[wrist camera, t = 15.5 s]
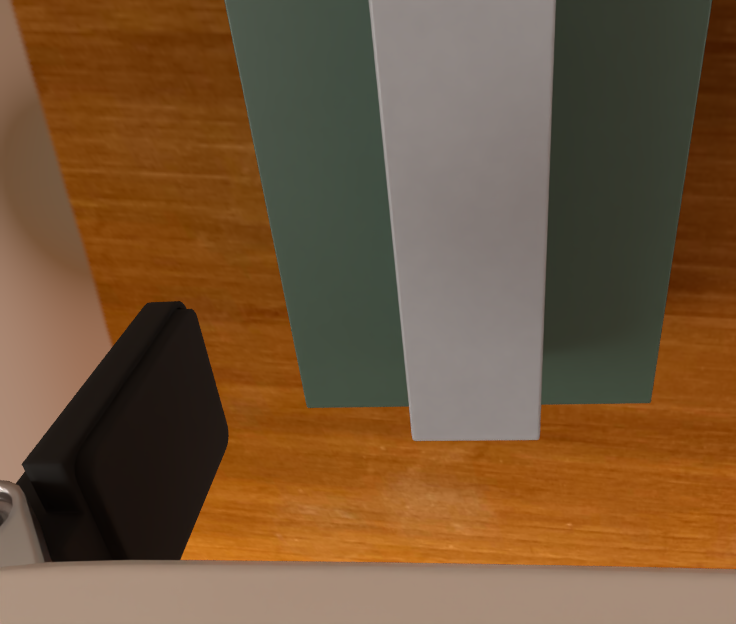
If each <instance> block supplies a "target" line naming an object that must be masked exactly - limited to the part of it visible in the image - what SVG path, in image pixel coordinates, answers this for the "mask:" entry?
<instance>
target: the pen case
mask: <svg viewBox="0 0 736 624" xmlns="http://www.w3.org/2000/svg"><path fill="white" fill-rule="evenodd" d="M369 9H370V19H371V29H372V39H373V50H374V60H375V70H376V80H377V90H378V100H379V110H380V120H381V130H382V140H383V150H384V160H385V170H386V180H387V190H388V200H389V210H390V220H391V230H392V240H393V250H394V261H395V271H396V281H397V291H398V301H399V311H400V321H401V331H402V341H403V351H404V361H405V371H406V381H407V391H408V401H409V411H410V421H411V431H412V438H413V440H414V441H453V440H538V439H539V437H540V416H541V389H542V362H543V335H544V308H545V281H546V254H547V227H548V200H549V173H550V146H551V119H552V92H553V65H554V38H555V11H556V0H369Z"/></svg>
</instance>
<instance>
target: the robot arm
mask: <svg viewBox="0 0 736 624" xmlns="http://www.w3.org/2000/svg"><path fill="white" fill-rule="evenodd" d="M227 444H228V426H227V422H226V419H225V415H224V412H223V408H222V404H221V401H220V397H219V394H218V390H217V387H216V383H215V379H214V376H213V372H212V369H211V365H210V362H209V358H208V354H207V351H206V347H205V344H204V340H203V336H202V333H201V329H200V326H199V322H198V319H197V316H196V313H195V312H194V310H192V309H186V307H185V305H184V304H183V303H182V302H180V301H174V302H151V303H147V304H146V305H145V306H144V307H143V308H142V309H141V311H140V312H139V313H138V315H137V316H136V317H135V319H134V320H133V321H132V322H131V324H130V325H129V326H128V328H127V329H126V330H125V331H124V333H123V334H122V335H121V337H120V338H119V339H118V340H117V342H116V343H115V344H114V346H113V347H112V348H111V350H110V351H109V352H108V354H107V355H106V356H105V358H104V359H103V360H102V361H101V362H100V364H99V365H98V366H97V368H96V369H95V370H94V371H93V373H92V374H91V375H90V377H89V378H88V379H87V381H86V382H85V383H84V385H83V386H82V387H81V388H80V390H79V391H78V392H77V393H76V395H75V396H74V397H73V399H72V400H71V401H70V402H69V404H68V405H67V406H66V408H65V409H64V410H63V412H62V413H61V414H60V415H59V417H58V418H57V419H56V421H55V422H54V423H53V425H52V426H51V427H50V428H49V430H48V431H47V432H46V434H45V435H44V436H43V438H42V439H41V440H40V441H39V443H38V444H37V445H36V447H35V448H34V449H33V450H32V452H31V453H30V454H29V455H28V457H27V458H26V459H25V461H24V462H23V463H22V466H23V467H24V470H25V472H24V474H23V475H22V476H21V478H20V479H19V480H18V481H17V483H16V484H14V483H12V482H10V481H1V480H0V624H736V569H701V568H656V567H612V566H561V565H506V564H447V563H385V562H303V561H216V560H180V559H181V556H182V554H183V552H184V549H185V547H186V544H187V542H188V539H189V537H190V535H191V532H192V530H193V527H194V525H195V523H196V520H197V518H198V515H199V513H200V511H201V508H202V506H203V503H204V501H205V498H206V496H207V494H208V491H209V489H210V486H211V484H212V482H213V479H214V477H215V474H216V472H217V469H218V467H219V465H220V462H221V460H222V457H223V455H224V453H225V450H226V447H227Z"/></svg>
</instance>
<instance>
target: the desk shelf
mask: <svg viewBox="0 0 736 624" xmlns="http://www.w3.org/2000/svg"><path fill="white" fill-rule="evenodd" d="M711 4H712V0H556V11H555V38H554V65H553V92H552V119H551V146H550V173H549V200H548V227H547V254H546V281H545V308H544V335H543V362H542V389H541V405H542V404H615V403H650V402H651V397H652V390H653V384H654V377H655V371H656V364H657V358H658V351H659V344H660V338H661V331H662V325H663V318H664V312H665V305H666V299H667V292H668V286H669V279H670V273H671V266H672V259H673V253H674V246H675V240H676V233H677V227H678V220H679V214H680V207H681V201H682V194H683V188H684V181H685V174H686V168H687V161H688V155H689V148H690V142H691V135H692V129H693V122H694V116H695V109H696V103H697V96H698V89H699V83H700V76H701V70H702V63H703V57H704V50H705V44H706V37H707V31H708V24H709V18H710V11H711ZM225 5H226V10H227V15H228V20H229V25H230V30H231V35H232V40H233V45H234V50H235V55H236V59H237V64H238V69H239V74H240V79H241V84H242V89H243V94H244V99H245V104H246V109H247V114H248V119H249V124H250V128H251V133H252V138H253V143H254V148H255V153H256V158H257V163H258V168H259V173H260V178H261V183H262V188H263V193H264V197H265V202H266V207H267V212H268V217H269V222H270V227H271V232H272V237H273V242H274V247H275V252H276V257H277V262H278V267H279V271H280V276H281V281H282V286H283V291H284V296H285V301H286V306H287V311H288V316H289V321H290V326H291V331H292V336H293V340H294V345H295V350H296V355H297V360H298V365H299V370H300V375H301V380H302V385H303V390H304V395H305V400H306V405H307V407H308V408H325V407H398V406H409V401H408V391H407V381H406V371H405V361H404V351H403V341H402V331H401V321H400V311H399V301H398V291H397V281H396V271H395V261H394V250H393V240H392V230H391V220H390V210H389V200H388V190H387V180H386V170H385V160H384V150H383V140H382V130H381V120H380V110H379V100H378V90H377V80H376V70H375V60H374V50H373V39H372V29H371V19H370V9H369V0H225Z"/></svg>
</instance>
